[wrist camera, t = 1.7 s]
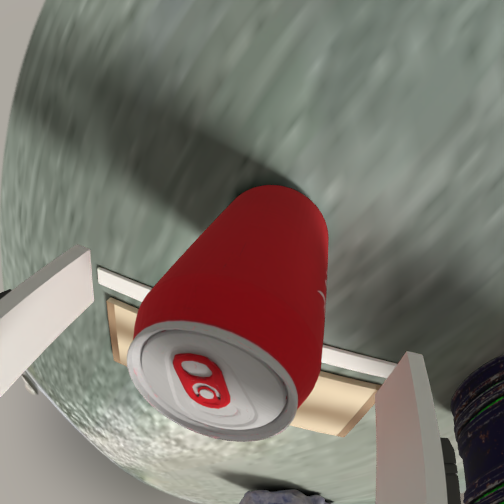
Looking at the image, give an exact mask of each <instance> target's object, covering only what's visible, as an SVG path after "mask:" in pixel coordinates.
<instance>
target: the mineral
mask: <svg viewBox="0 0 504 504" xmlns="http://www.w3.org/2000/svg"><path fill="white" fill-rule="evenodd" d="M324 501H325V499H324V498H323V497H321V496H319V495H312V496H305V495H304V494H303V493H301V492H300V491H298V490H296V489H290V490H282V491H277V492H269V491H268V490H256V491H248V492H246V493H245V495H244V497H243V499H242V500H241V501H240V503H239V504H330V503H327V502H324Z"/></svg>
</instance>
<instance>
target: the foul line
mask: <svg viewBox="0 0 504 504" xmlns="http://www.w3.org/2000/svg"><path fill="white" fill-rule="evenodd" d="M97 270H98V283H99V284H101V285H104V286H106V287H108V288H110V289H113V290H115V291H117V292H120V293H122V294H125V295H127V296H129V297H132V298H134V299H137V300H139V301H141V302H143V300H144V298H145V297H146V295H147V294H148V293H149V292H150V291H151V289H152V288H151V287H149V286H146V285H143V284H141V283H138V282H136V281H133V280H131V279H128V278H126V277H123V276H121V275H118V274H116V273H113V272H111V271H108V270H106V269H104V268H101V267H99V268H97ZM321 362H322V363H326V364H330V365H334V366H338V367H342V368H345V369H349V370H353V371H358V372H362V373H366V374H370V375H374V376H379V377H383V378H388V377H389V375H390V374H391V373H392V371H393V370H394V368H395V367H396V366H397V363H393V362H388V361H384V360H380V359H376V358H372V357H368V356H364V355H360V354H356V353H353V352H349V351H345V350H341V349H338V348H334V347H330V346H327V345H323V349H322V360H321Z"/></svg>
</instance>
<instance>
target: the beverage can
mask: <svg viewBox="0 0 504 504" xmlns="http://www.w3.org/2000/svg"><path fill="white" fill-rule="evenodd" d="M327 266H328V230H327V225H326V222H325V220H324V218H323V215H322V214H321V212H320V210H319V209H318V208H317V206H316V205H315V204H314V203H313V202H312V201H311V200H310V199H309V198H307V197H306V196H305V195H303V194H301V193H300V192H298V191H296V190H294V189H291V188H288V187H284V186H279V185H263V186H258V187H255V188H252V189H249V190H247V191H245V192H244V193H242V194H240V195H239V196H238V197H237V198H236V199H235V200H234V201H233V202H232V203H231V204H230V205H229V206H228V207H227V208H226V209H225V210H224V211H223V212H222V213H221V214H220V215H219V216H218V217H217V218H216V219H215V221H214V222H213V223H212V224H211V225H210V226H209V227H208V228H207V229H206V230H205V231H204V232H203V233H202V234H201V235H200V236H199V238H198V239H197V240H196V241H195V242H194V243H193V244H192V245H191V246H190V247H189V248H188V249H187V251H186V252H185V253H184V254H183V255H182V256H181V257H180V258H179V259H178V260H177V261H176V263H175V264H174V265H173V266H172V267H171V268H170V269H169V270H168V271H167V273H166V274H165V275H164V276H163V277H162V278H161V279H160V280H159V281H158V283H157V284H156V285H155V286H154V287H153V288H152V289H151V291H150V292H149V293H148V294H147V295H146V297H145V298H144V300H143V302H142V304H141V306H140V308H139V310H138V313H137V317H136V321H135V326H134V336H133V341H132V343H131V344H130V346H129V349H128V353H127V367H128V371H129V374H130V377H131V379H132V381H133V383H134V385H135V386H136V388H137V389H138V390H139V392H140V393H141V394H142V396H143V397H144V398H145V399H146V400H147V401H148V402H149V403H150V404H151V405H152V406H153V407H154V408H155V409H156V410H158V411H159V412H160V413H162V414H163V415H164V416H166V417H167V418H169V419H170V420H172V421H174V422H175V423H177V424H179V425H181V426H183V427H185V428H187V429H189V430H191V431H194V432H196V433H199V434H202V435H205V436H209V437H212V438H216V439H222V440H227V441H240V442H246V441H257V440H263V439H266V438H270V437H272V436H275V435H277V434H279V433H281V432H282V431H284V430H285V429H286V428H287V427H288V426H289V425H290V424H291V422H292V421H293V419H294V417H295V415H296V411H297V409H298V408H299V407H300V406H301V405H302V403H303V402H304V401H305V400H306V399H307V397H308V396H309V395H310V393H311V392H312V390H313V389H314V387H315V384H316V382H317V380H318V377H319V374H320V370H321V360H322V349H323V336H324V323H325V307H326V289H327Z"/></svg>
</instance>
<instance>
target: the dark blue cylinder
mask: <svg viewBox="0 0 504 504" xmlns="http://www.w3.org/2000/svg"><path fill="white" fill-rule="evenodd" d="M451 410H452V414H453V416H454V425H455V426H454V432H455V437H456V441H457V443H458V450H459V455H460V457H461V458H462V459H463V465H464V473H465V481H466V491H465V493H464V500H463V502H464V504H504V355H502V356H499V357H497V358H495V359H493V360H491V361H489V362H488V363H486V364H484V365H483V366H481V367H480V368H479V369H477V370H476V371H475V372H473V373H472V374H471V375H470V376H469V377H468V378H467V379H465V380H464V382H463V383H462V384H461V385H460V386H459V387H458V389H457V390H456V392H455V394H454V395H453V398H452V401H451Z"/></svg>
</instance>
